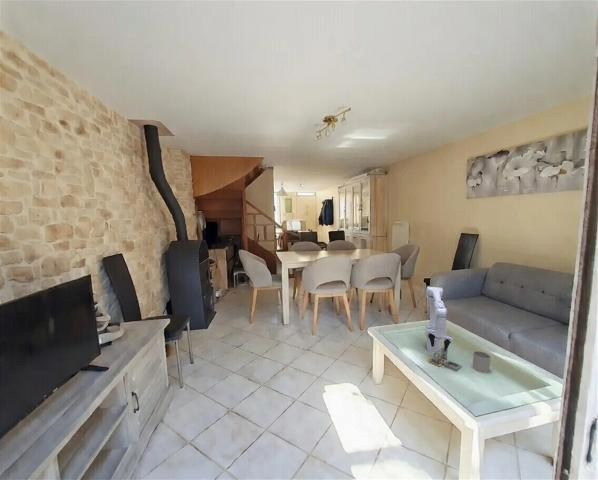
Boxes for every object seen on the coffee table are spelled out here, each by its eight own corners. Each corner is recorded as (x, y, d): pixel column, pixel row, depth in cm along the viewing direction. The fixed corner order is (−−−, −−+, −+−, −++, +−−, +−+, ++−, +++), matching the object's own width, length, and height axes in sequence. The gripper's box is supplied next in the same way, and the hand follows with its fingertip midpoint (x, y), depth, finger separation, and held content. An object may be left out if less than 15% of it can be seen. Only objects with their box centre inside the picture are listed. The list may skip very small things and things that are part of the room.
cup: (485, 368, 160) (487, 352, 159) (491, 375, 152) (493, 359, 151) (470, 366, 162) (471, 350, 161) (475, 373, 154) (476, 356, 153)
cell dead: (442, 356, 171) (442, 346, 171) (447, 358, 168) (448, 349, 168) (439, 358, 169) (440, 348, 169) (445, 360, 166) (446, 350, 166)
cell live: (434, 361, 165) (435, 351, 164) (440, 364, 162) (440, 353, 161) (432, 363, 163) (432, 353, 162) (437, 365, 160) (438, 355, 159)
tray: (435, 359, 169) (435, 356, 169) (446, 363, 164) (446, 361, 163) (427, 363, 163) (428, 361, 163) (439, 368, 157) (439, 366, 157)
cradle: (450, 362, 165) (451, 358, 165) (463, 367, 159) (463, 363, 159) (443, 367, 159) (444, 363, 159) (456, 373, 153) (456, 368, 153)
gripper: (425, 324, 165) (424, 345, 166) (449, 332, 153) (448, 355, 154) (430, 322, 169) (429, 342, 170) (455, 330, 158) (453, 352, 158)
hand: (438, 348), depth 162 cm, fingers open, 7 cm apart
